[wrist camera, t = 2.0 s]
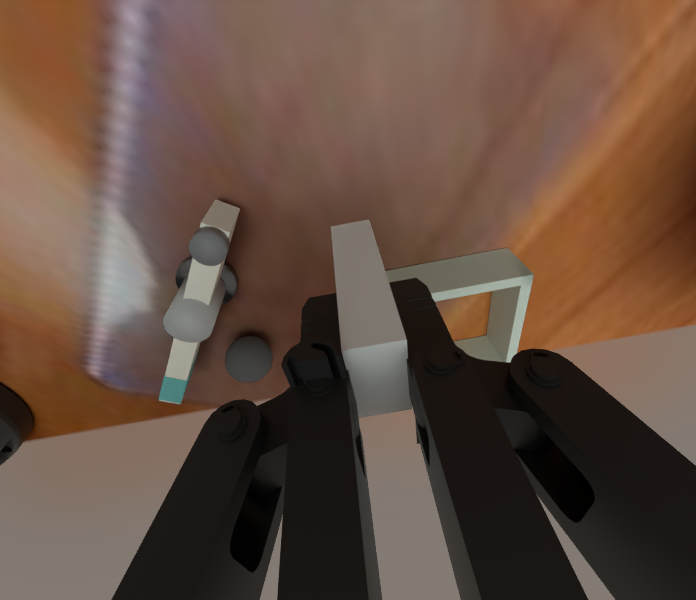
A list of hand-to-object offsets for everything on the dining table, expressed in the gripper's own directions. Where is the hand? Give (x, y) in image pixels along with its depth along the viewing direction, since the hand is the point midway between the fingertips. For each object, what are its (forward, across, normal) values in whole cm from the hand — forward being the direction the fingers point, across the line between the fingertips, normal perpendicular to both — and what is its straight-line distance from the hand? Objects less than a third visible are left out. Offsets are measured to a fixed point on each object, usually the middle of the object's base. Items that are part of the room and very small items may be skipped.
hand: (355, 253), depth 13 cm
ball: (+11, -11, -14) cm, 20 cm away
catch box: (+11, +7, -14) cm, 19 cm away
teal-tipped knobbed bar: (+10, -12, -7) cm, 17 cm away
